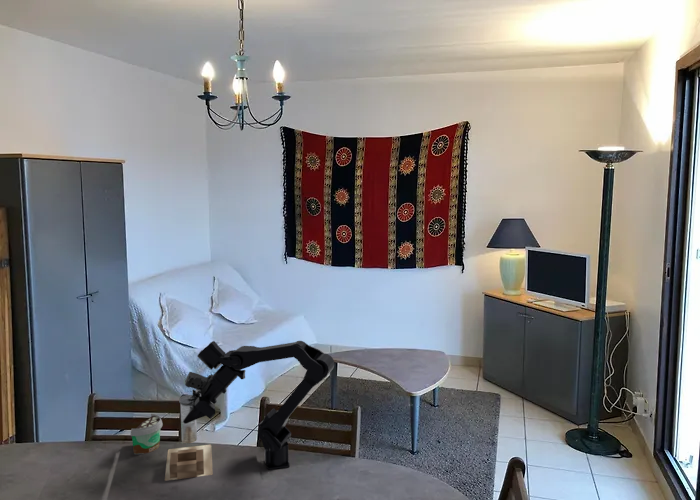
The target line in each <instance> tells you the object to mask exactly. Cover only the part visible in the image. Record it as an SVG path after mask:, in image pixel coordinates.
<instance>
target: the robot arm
mask: <svg viewBox="0 0 700 500" xmlns="http://www.w3.org/2000/svg"><path fill="white" fill-rule="evenodd" d="M197 358H198V359H199V360H200V361H201V363H203V364H204V365H205V366H206V367H207V368H208V369H209V370H213V369H214V370H216V372H214V373H213V374H209V375H208V376H204V375H202V374H199V373H196V372H193V371H189V372H188V373H187V376H186V379H185V384H184V386H186V387H187V388H191V390H192V395H194V396H196V397H197V399H196V401H195V400H193V408H192V409H191V410H190V412H189V413H188V415H187V416H186V417H185V419H184V420H183V422H184V423H185V424H186V423H189V422H191V421H194V420H196V421H197V420H198V419H202V418H203V417H204V418H205V417H207V418H208V419H210V420H211V419H212V418H213V417H214V416H215V415H216V407H215V404H216V403H218V402H217V399H218V398H219V397H220V396H221V395H222V394H226V392H227V389H228V388H229V386H231V384H232V383H234V381H236V380H237V378H238V377H239V379H241V380H245V379H246V369H247V368H249V367H253V366H254V365H256V364H259V363H264V362H269V361H277V360H285V359H291V358H294V359H296V361H298V363H299V365H301V366H302V367H303V368H304V370H306V372H305V374H304V376H303V379H302V380H301V382H300V383H299V384H298V385H297V386H296V388H295V389H294V390H293V391H292V393H291V394H290V395H289V396H288V397H287V399H286V400H285V401H284V403H283V404H282V405H281V406H280V408H279V409H278V410H276V409H275V408H274V407H273V408H272V409H271V410H270V411H269V412H268V413H267V414H266V415H265V417H264V418H263V420H262V421H261V422H259V424H258V429H257V434H258V438H259V439H260V440H261V442H262V446H263V450H264V454H263V455H264V464H265V465H266V467H267V470H276V469H283V468H290V466H291V465H290V462H289V443H288V440H289V439H290V438H291V436H292V432H291V431H290V430H289V428H287V426H286V425H287V422H288V420H289V417H290V416H291V415H292V413H294V411H295V410H296V409H297V407H298V406H299V405H300V404H301V403H302V401H303V400H304V399H305V398H306V396H307V395H308V394H309V393H310V392H311V390H312V389H313V388H314V387H315V386H316V385H318V384H319V383H321V382H322V381H323V380H324V379H325V378H327V376H328V375H329V374H330V373H331V372H332V371H333V370H334V369H335V360H334V358H333V357H332V356H331V355H330V354H328V353H324V352H323V351H322V350H320V349H319V348H316V347H313V346H311V345H309V344H308V343H307V342H305V341H302V340H297V341H295V342H287V343H282V344H275V345H269V346H263V347H262V346H261V347H257V346H255V345H241V346H240V347H238V348H236V349H232V350H229V351H227V352H225V351H224V350H223V349H222V348H221V347H220V346H219V345H218V343H217V342H216V341H215V340H213V341H211V342H210V343H209V344H208V345H206V346H205V348H203V349H202V350H200V351H199V353H198V354H197Z"/></svg>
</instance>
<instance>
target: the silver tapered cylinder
mask: <svg viewBox="0 0 700 500" xmlns="http://www.w3.org/2000/svg"><path fill="white" fill-rule="evenodd" d="M196 399H197V397H196V396H194V395H193V394H188V395H187V394H186V395H183V396H180V397H179V404H180V424H181V425H180V426H181V428H180V429H181V432H180V433H181V443H184V444H192V443H195V442H197V440H198V429H197V427H198V426H197V419H196V420H194V421H191V422H189V423H186V424H185V423H184V422H183V420H184V419H185V417H186V416H187V415H188V413H189V412H190V410H191V409H192V408H193V400H195V401H196Z"/></svg>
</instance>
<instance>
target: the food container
mask: <svg viewBox="0 0 700 500" xmlns="http://www.w3.org/2000/svg"><path fill="white" fill-rule="evenodd" d="M163 425H164V424H163V420H162V418H161V416H160V415H158V414H155V413H151V415H150V417H149V418H148V419H146V420H144V421H142V422H141V423H140V424H139V425H138V426H136V428H131V430H130V437H131V439H132V448H133V449H132V451H133V455H144V454H149V453H152V452H154V451H156V450H157V449H159V447H160V443H161V429H162V427H163Z"/></svg>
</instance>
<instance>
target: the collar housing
mask: <svg viewBox="0 0 700 500" xmlns="http://www.w3.org/2000/svg"><path fill="white" fill-rule="evenodd" d="M212 452H213V451H212V444H205V445H204V444H203V445H196V446H186V447H177V448H176V447H175V448H169V449H167V456H166V465H165V475H164V481H174V480H181V479H182V480H184V479H190V478H199V477H206V476H213V475H214V473H213V455H212V454H213V453H212Z"/></svg>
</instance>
